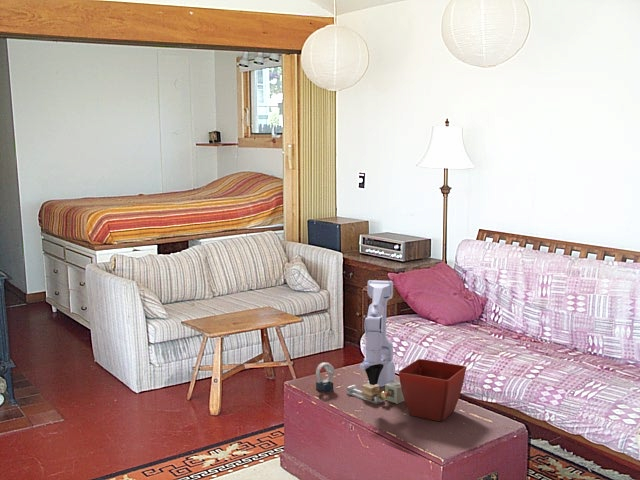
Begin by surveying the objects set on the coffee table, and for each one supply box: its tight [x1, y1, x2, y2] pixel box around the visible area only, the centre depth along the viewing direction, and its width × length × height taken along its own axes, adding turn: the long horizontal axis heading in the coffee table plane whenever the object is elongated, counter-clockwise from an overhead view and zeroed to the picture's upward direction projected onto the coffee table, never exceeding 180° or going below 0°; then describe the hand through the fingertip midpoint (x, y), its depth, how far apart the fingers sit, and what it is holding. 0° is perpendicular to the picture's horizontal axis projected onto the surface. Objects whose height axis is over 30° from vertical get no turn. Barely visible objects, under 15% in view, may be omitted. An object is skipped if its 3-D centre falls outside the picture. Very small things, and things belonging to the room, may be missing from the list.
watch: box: [315, 361, 336, 394], centre depth 292 cm, size 6×8×11 cm
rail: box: [346, 384, 385, 405], centre depth 283 cm, size 4×16×3 cm, turn 43°
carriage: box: [361, 382, 381, 400], centre depth 281 cm, size 4×5×4 cm
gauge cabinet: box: [384, 380, 405, 405], centre depth 281 cm, size 6×6×6 cm
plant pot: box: [398, 358, 467, 422], centre depth 267 cm, size 19×19×17 cm
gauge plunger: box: [379, 390, 394, 401], centre depth 278 cm, size 7×3×3 cm, turn 133°
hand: (373, 384), depth 271 cm, fingers closed
